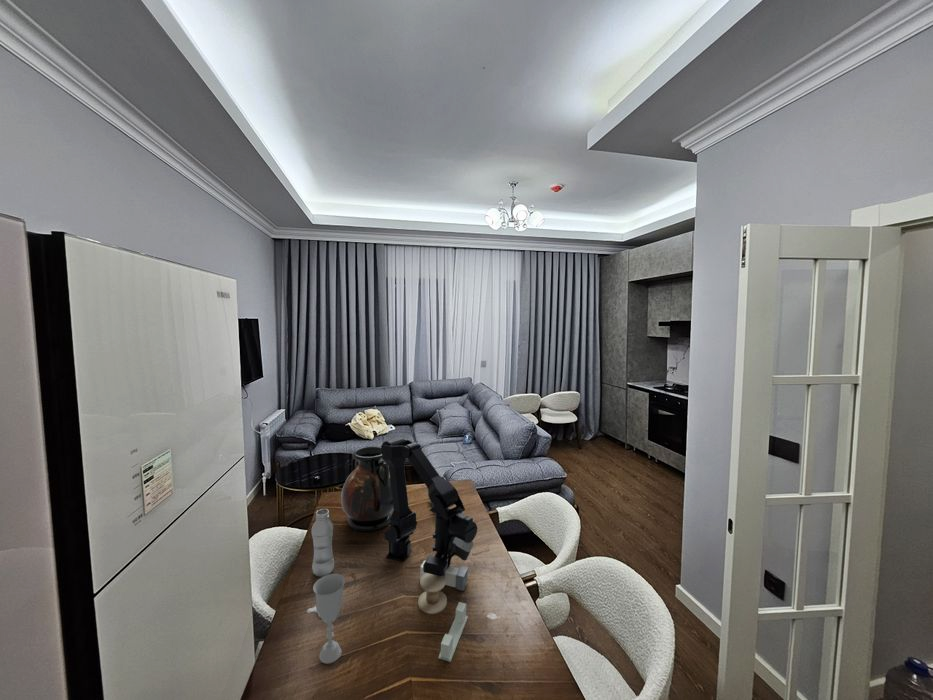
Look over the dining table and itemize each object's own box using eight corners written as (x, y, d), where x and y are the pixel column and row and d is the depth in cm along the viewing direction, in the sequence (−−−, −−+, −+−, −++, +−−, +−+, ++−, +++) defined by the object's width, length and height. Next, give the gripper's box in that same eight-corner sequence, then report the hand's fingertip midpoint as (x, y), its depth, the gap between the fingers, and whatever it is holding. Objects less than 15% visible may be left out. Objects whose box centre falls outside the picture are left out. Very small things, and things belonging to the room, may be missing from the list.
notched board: (438, 658, 93) (438, 643, 93) (457, 615, 107) (457, 601, 106) (450, 662, 93) (450, 646, 92) (467, 617, 106) (468, 604, 105)
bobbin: (413, 609, 108) (413, 586, 108) (425, 590, 116) (425, 568, 115) (440, 617, 106) (441, 592, 105) (450, 596, 114) (451, 573, 113)
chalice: (327, 672, 89) (325, 599, 87) (308, 658, 93) (306, 587, 91) (352, 649, 95) (351, 580, 93) (333, 636, 99) (332, 570, 97)
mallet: (419, 580, 119) (419, 566, 119) (425, 571, 124) (425, 558, 123) (463, 590, 115) (463, 576, 115) (467, 581, 120) (468, 567, 119)
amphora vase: (409, 517, 156) (410, 449, 153) (369, 544, 138) (368, 467, 135) (370, 502, 168) (370, 438, 165) (328, 525, 149) (327, 453, 147)
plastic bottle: (339, 568, 125) (338, 508, 123) (324, 582, 118) (323, 519, 116) (322, 563, 127) (321, 504, 125) (307, 577, 120) (306, 515, 118)
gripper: (460, 552, 107) (459, 605, 108) (478, 518, 124) (477, 564, 126) (422, 544, 110) (422, 596, 111) (445, 511, 128) (444, 557, 129)
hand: (443, 577), depth 119 cm, fingers closed on mallet, 3 cm apart
